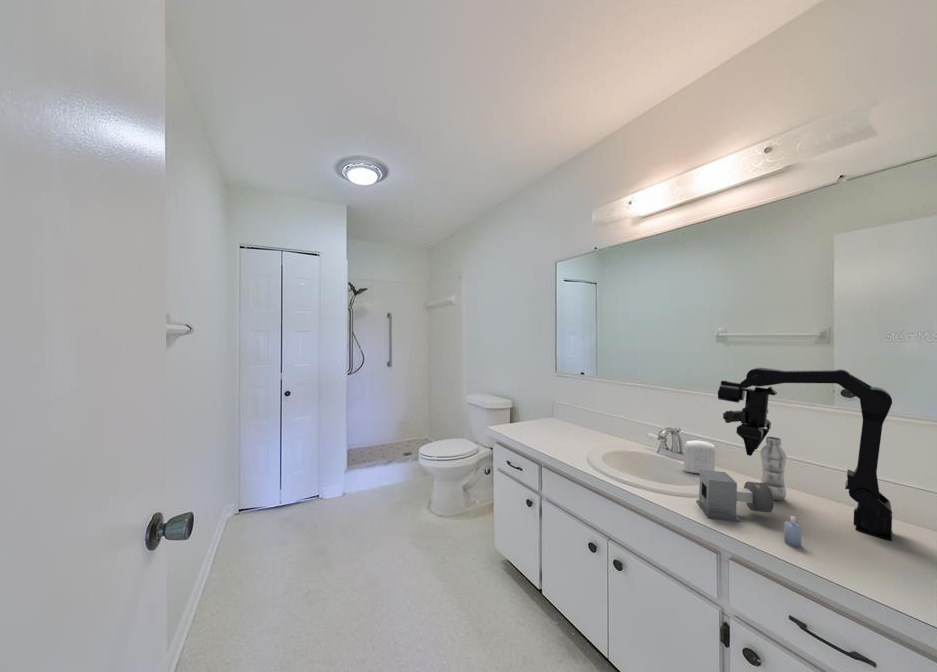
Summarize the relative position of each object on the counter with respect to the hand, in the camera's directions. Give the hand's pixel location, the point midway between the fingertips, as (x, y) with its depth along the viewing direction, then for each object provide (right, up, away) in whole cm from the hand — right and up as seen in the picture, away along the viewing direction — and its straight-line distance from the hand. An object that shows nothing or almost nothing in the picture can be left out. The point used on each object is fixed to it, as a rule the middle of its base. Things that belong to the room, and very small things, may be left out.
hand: (752, 452), depth 116 cm
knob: (-12, -13, -11) cm, 21 cm away
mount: (-18, -15, -9) cm, 25 cm away
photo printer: (-4, -15, +20) cm, 26 cm away
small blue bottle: (-10, -16, -25) cm, 31 cm away
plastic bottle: (+6, -15, -1) cm, 17 cm away
